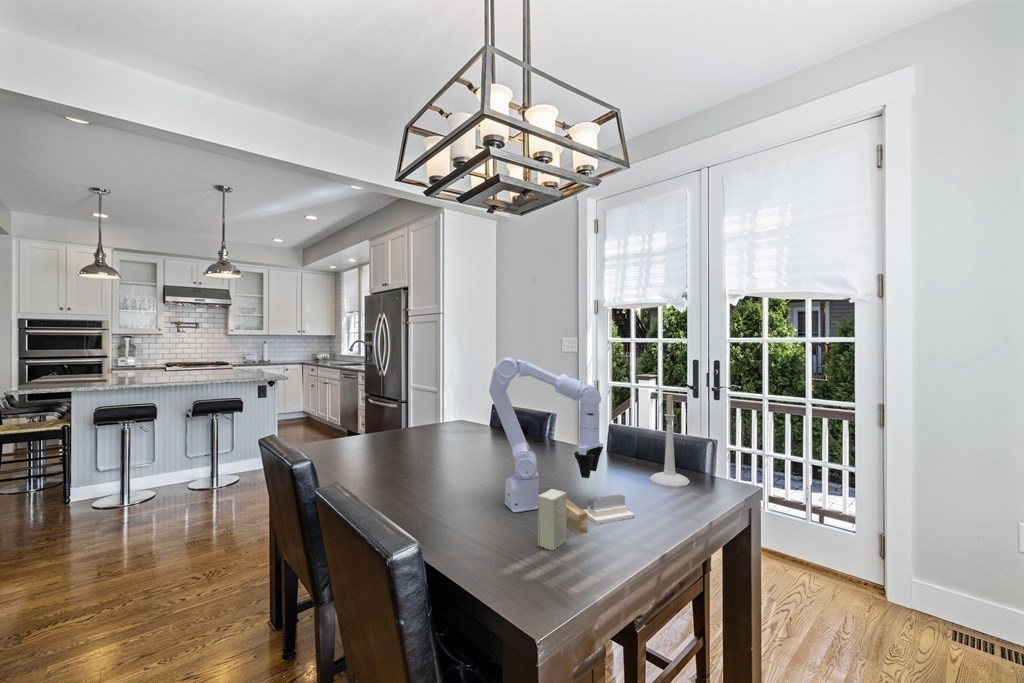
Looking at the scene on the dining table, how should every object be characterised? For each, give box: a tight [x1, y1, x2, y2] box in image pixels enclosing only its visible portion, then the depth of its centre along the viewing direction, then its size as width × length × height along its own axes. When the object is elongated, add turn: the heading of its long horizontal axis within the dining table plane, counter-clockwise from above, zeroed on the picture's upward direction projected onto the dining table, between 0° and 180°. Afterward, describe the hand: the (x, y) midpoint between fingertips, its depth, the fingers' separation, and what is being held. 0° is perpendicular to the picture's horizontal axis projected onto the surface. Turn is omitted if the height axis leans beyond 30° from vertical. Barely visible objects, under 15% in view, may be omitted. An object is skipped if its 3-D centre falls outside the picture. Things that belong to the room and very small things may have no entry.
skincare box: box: [537, 488, 567, 551], centre depth 107 cm, size 6×4×12 cm
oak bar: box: [566, 498, 588, 534], centre depth 120 cm, size 3×14×5 cm, turn 21°
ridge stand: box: [583, 493, 635, 525], centre depth 125 cm, size 12×8×5 cm, turn 112°
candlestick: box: [649, 394, 690, 488], centre depth 155 cm, size 13×13×30 cm
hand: (589, 474), depth 131 cm, fingers open, 7 cm apart
